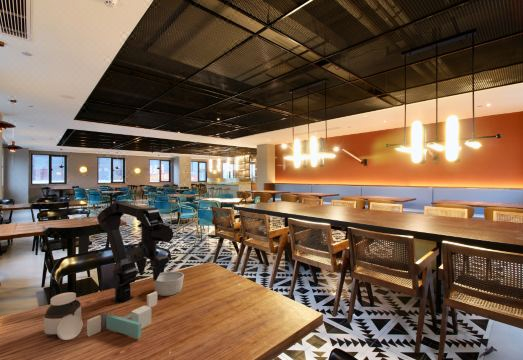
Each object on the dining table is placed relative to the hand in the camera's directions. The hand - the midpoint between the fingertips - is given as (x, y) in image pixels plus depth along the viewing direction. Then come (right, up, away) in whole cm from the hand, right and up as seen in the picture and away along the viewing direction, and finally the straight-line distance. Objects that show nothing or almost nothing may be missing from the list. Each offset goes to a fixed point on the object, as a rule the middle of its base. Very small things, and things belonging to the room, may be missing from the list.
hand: (148, 277), depth 105 cm
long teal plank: (0, -11, -19) cm, 22 cm away
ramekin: (+3, -12, +15) cm, 20 cm away
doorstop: (+3, -12, -13) cm, 18 cm away
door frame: (-4, -12, -9) cm, 15 cm away
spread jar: (-19, -12, -18) cm, 29 cm away
